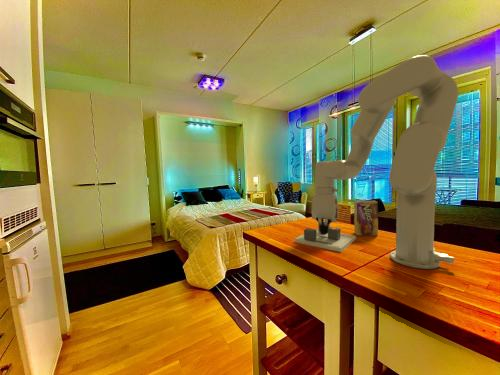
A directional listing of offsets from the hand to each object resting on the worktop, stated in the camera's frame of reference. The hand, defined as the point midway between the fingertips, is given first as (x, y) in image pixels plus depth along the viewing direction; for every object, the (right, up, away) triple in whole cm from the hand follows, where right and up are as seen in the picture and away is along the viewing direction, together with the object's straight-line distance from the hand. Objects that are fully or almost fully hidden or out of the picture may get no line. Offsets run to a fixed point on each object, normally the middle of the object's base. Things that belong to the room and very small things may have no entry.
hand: (324, 233), depth 91 cm
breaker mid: (+3, -1, -3) cm, 4 cm away
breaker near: (-7, -2, -3) cm, 8 cm away
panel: (+1, -3, 0) cm, 3 cm away
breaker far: (+2, 0, +7) cm, 8 cm away
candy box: (+21, -2, +7) cm, 22 cm away
